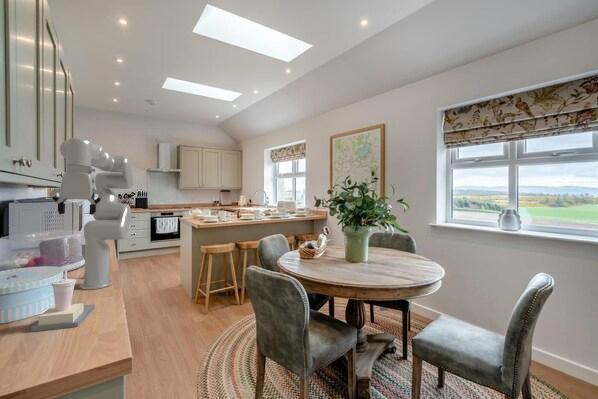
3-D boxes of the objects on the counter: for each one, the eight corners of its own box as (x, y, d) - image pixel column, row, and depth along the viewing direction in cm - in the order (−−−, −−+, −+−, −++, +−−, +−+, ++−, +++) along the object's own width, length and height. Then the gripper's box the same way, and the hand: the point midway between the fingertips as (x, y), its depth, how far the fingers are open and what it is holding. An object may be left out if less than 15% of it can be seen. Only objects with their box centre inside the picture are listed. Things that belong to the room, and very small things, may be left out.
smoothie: (60, 314, 89) (61, 271, 89) (45, 311, 90) (46, 270, 90) (80, 306, 95) (81, 267, 95) (65, 304, 97) (66, 265, 97)
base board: (55, 311, 101) (56, 299, 101) (94, 308, 105) (94, 296, 105) (31, 331, 86) (31, 317, 86) (77, 326, 90) (78, 313, 90)
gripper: (107, 173, 112) (106, 214, 112) (55, 169, 106) (54, 213, 106) (101, 171, 105) (100, 215, 105) (45, 168, 99) (44, 214, 99)
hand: (77, 214), depth 106 cm, fingers open, 9 cm apart
